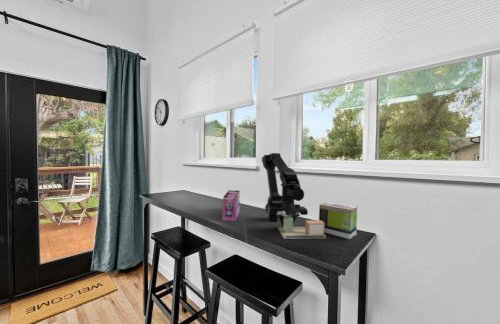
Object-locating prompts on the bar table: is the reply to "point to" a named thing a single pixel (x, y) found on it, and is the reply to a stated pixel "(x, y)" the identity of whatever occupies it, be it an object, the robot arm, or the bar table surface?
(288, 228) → the sage carton
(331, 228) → the tea box
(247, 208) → the bar table surface
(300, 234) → the shelf board
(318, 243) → the bar table surface
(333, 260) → the bar table surface
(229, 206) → the gum box
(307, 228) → the pink box
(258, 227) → the bar table surface
